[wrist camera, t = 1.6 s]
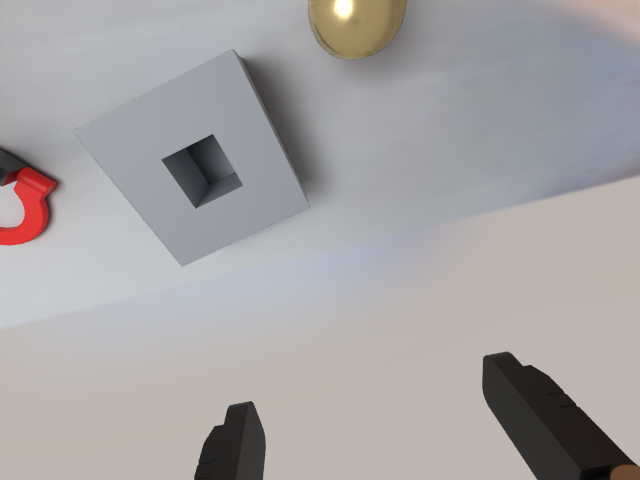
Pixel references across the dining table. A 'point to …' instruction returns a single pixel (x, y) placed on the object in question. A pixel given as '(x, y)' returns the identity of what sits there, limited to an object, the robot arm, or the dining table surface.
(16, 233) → the tow hook
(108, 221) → the dining table surface
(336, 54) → the brass knob
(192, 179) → the slate block
